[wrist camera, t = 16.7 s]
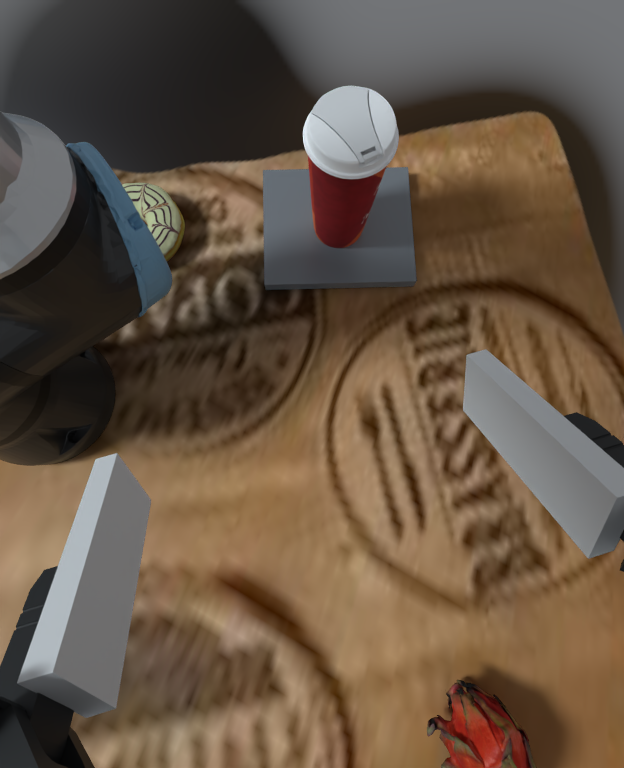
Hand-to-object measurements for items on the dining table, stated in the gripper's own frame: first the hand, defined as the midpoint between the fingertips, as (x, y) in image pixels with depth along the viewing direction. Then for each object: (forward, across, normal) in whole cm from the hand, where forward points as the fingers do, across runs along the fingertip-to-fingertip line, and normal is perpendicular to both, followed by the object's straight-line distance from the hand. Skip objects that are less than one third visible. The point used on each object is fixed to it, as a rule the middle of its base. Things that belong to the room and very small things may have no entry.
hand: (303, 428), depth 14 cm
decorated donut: (+42, -13, 0) cm, 44 cm away
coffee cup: (+37, +11, -3) cm, 38 cm away
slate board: (+38, +11, -4) cm, 40 cm away
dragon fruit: (-2, +8, -44) cm, 45 cm away
